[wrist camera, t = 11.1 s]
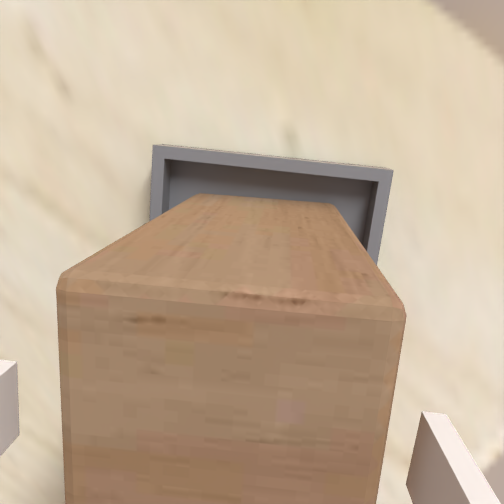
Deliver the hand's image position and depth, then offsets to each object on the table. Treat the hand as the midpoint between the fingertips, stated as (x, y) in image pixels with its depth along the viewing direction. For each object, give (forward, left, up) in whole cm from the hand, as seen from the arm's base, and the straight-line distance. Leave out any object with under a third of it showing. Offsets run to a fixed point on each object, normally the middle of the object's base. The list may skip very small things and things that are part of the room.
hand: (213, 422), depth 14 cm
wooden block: (0, 0, -19) cm, 19 cm away
